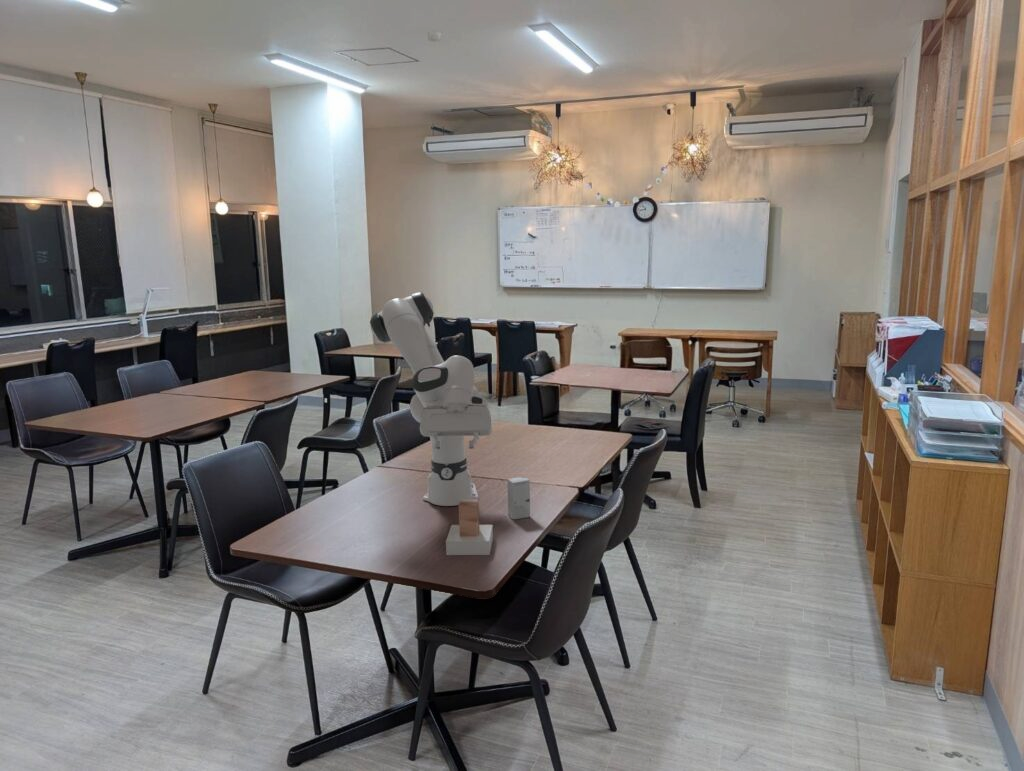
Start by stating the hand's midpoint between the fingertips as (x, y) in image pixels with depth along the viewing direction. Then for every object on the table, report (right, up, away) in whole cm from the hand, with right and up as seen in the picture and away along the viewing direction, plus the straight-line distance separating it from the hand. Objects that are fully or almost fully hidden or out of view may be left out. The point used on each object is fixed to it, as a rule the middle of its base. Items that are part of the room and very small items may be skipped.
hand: (454, 448), depth 191 cm
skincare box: (+18, -24, +29) cm, 42 cm away
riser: (+4, -29, +7) cm, 30 cm away
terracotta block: (+4, -25, +6) cm, 26 cm away
